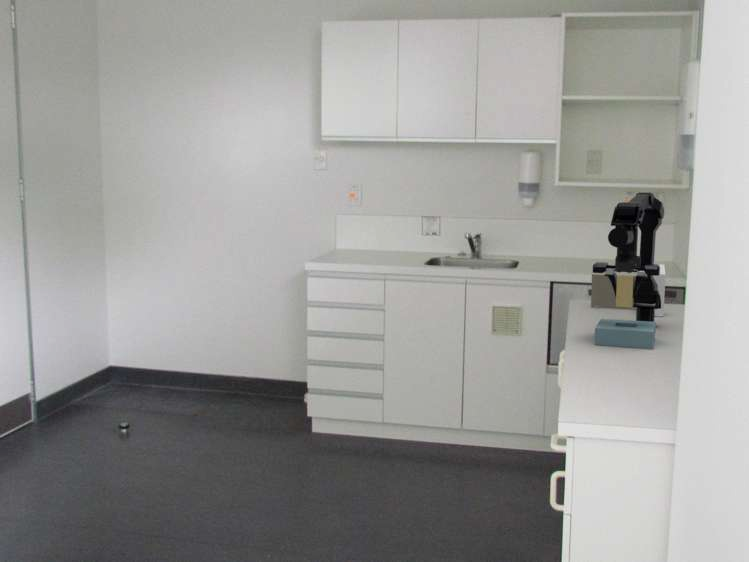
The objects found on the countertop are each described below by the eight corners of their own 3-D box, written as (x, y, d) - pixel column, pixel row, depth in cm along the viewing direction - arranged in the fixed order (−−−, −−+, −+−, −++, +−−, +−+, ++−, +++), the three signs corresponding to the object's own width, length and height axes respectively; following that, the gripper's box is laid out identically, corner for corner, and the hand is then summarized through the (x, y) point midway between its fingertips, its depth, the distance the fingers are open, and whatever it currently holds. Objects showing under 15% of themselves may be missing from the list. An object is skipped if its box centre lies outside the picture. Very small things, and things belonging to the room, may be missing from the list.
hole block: (600, 334, 243) (601, 318, 243) (655, 338, 237) (655, 321, 237) (594, 344, 229) (595, 328, 228) (652, 349, 223) (653, 331, 222)
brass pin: (617, 304, 236) (618, 274, 235) (633, 305, 235) (634, 275, 234) (615, 306, 232) (617, 276, 231) (632, 307, 231) (633, 277, 229)
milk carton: (663, 317, 272) (666, 262, 269) (642, 316, 273) (644, 262, 271) (660, 313, 279) (662, 260, 276) (639, 312, 280) (641, 260, 278)
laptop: (642, 306, 296) (644, 271, 294) (641, 311, 285) (643, 276, 283) (593, 303, 302) (594, 270, 301) (590, 309, 291) (591, 274, 289)
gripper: (591, 246, 227) (589, 299, 229) (659, 248, 220) (656, 303, 222) (595, 243, 238) (594, 294, 240) (661, 245, 231) (658, 298, 232)
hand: (624, 297), depth 233 cm, fingers closed on brass pin, 5 cm apart
